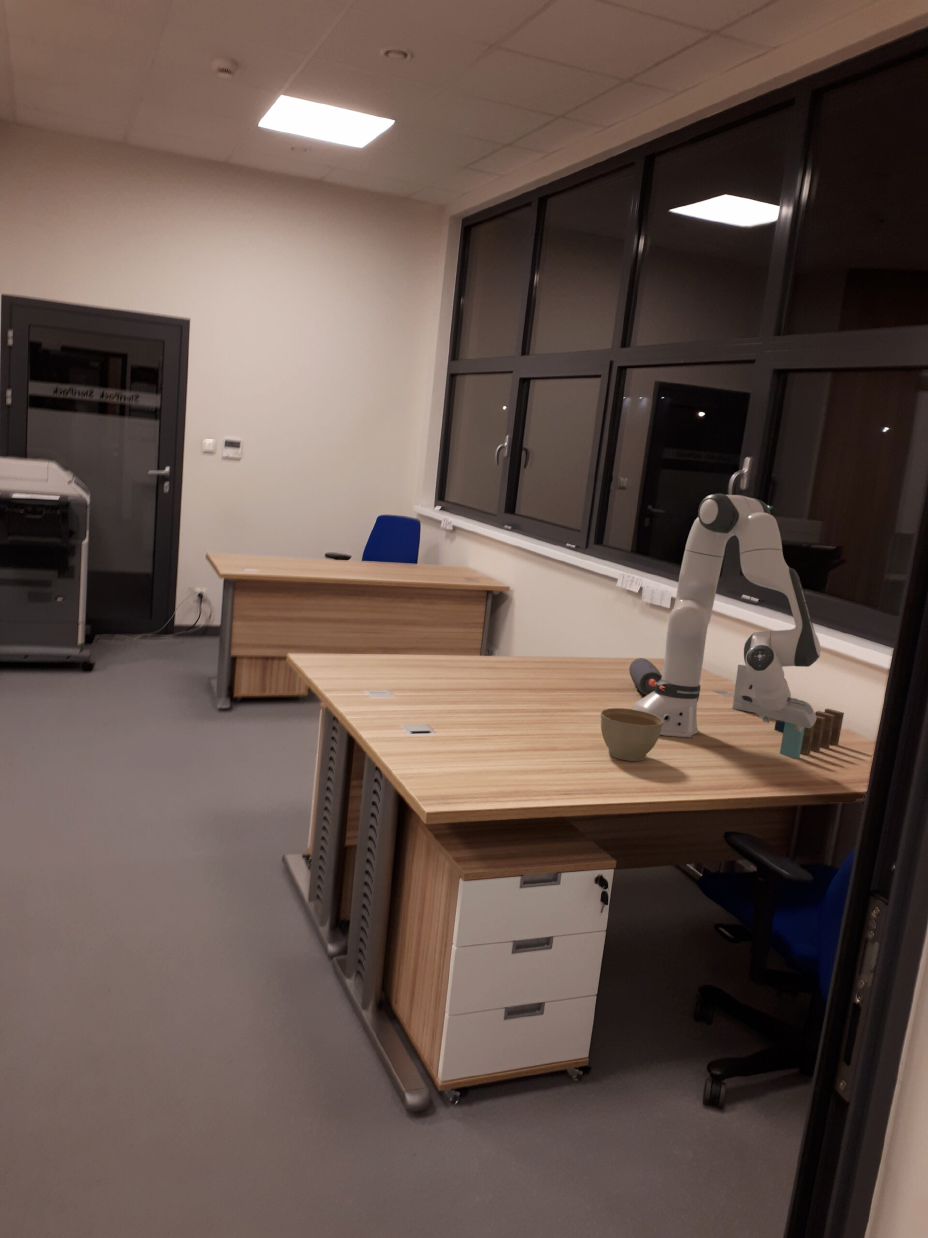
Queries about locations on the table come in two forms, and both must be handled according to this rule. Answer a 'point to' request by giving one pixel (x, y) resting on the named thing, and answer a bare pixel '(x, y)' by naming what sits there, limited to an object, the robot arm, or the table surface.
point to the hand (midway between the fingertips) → (783, 725)
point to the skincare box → (740, 685)
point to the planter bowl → (630, 732)
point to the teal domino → (791, 741)
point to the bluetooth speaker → (644, 675)
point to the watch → (780, 724)
